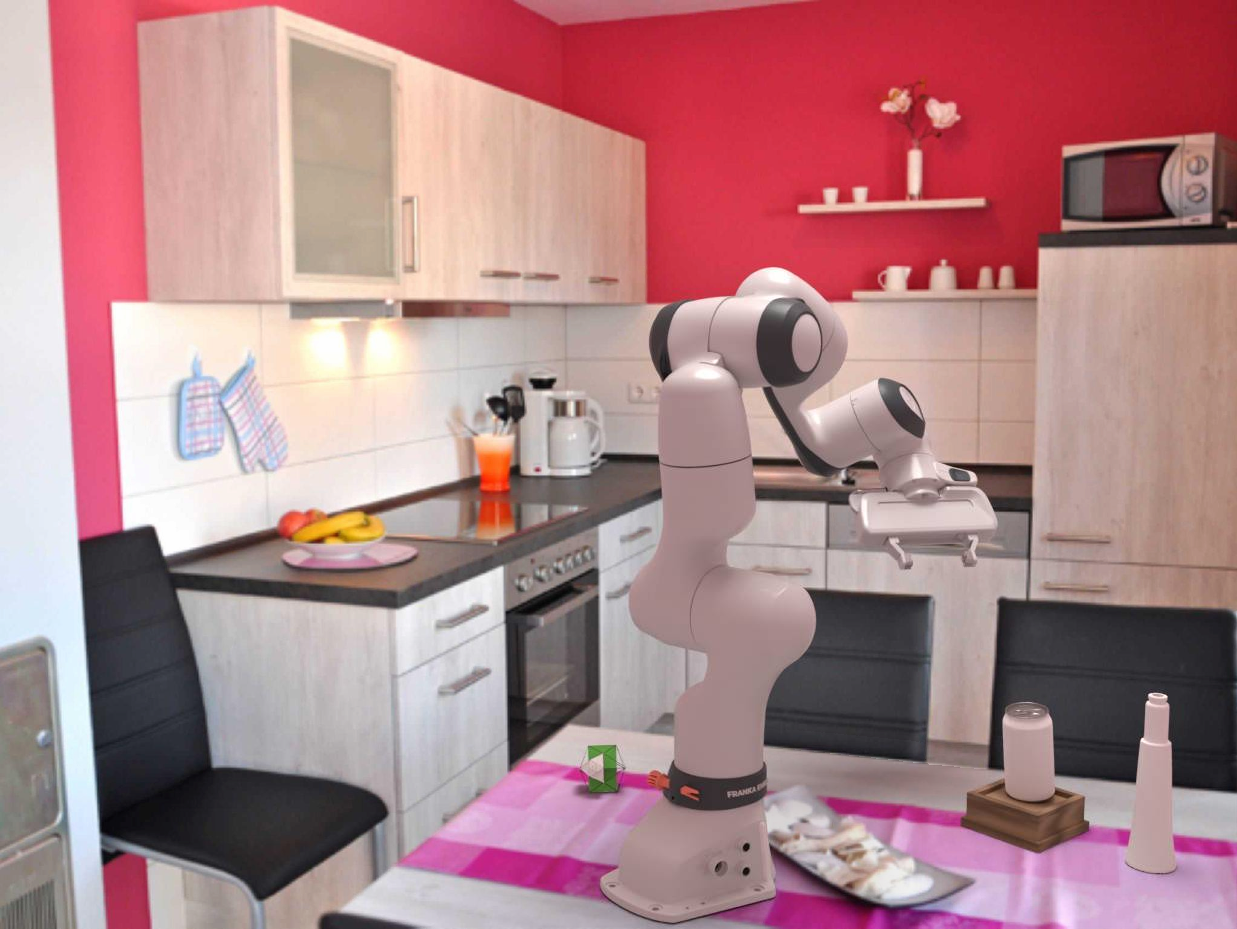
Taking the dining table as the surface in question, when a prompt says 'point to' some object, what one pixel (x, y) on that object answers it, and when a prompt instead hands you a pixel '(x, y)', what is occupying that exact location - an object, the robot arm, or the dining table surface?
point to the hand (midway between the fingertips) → (939, 566)
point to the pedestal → (1025, 817)
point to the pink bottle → (1153, 795)
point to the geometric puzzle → (602, 768)
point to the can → (1028, 752)
